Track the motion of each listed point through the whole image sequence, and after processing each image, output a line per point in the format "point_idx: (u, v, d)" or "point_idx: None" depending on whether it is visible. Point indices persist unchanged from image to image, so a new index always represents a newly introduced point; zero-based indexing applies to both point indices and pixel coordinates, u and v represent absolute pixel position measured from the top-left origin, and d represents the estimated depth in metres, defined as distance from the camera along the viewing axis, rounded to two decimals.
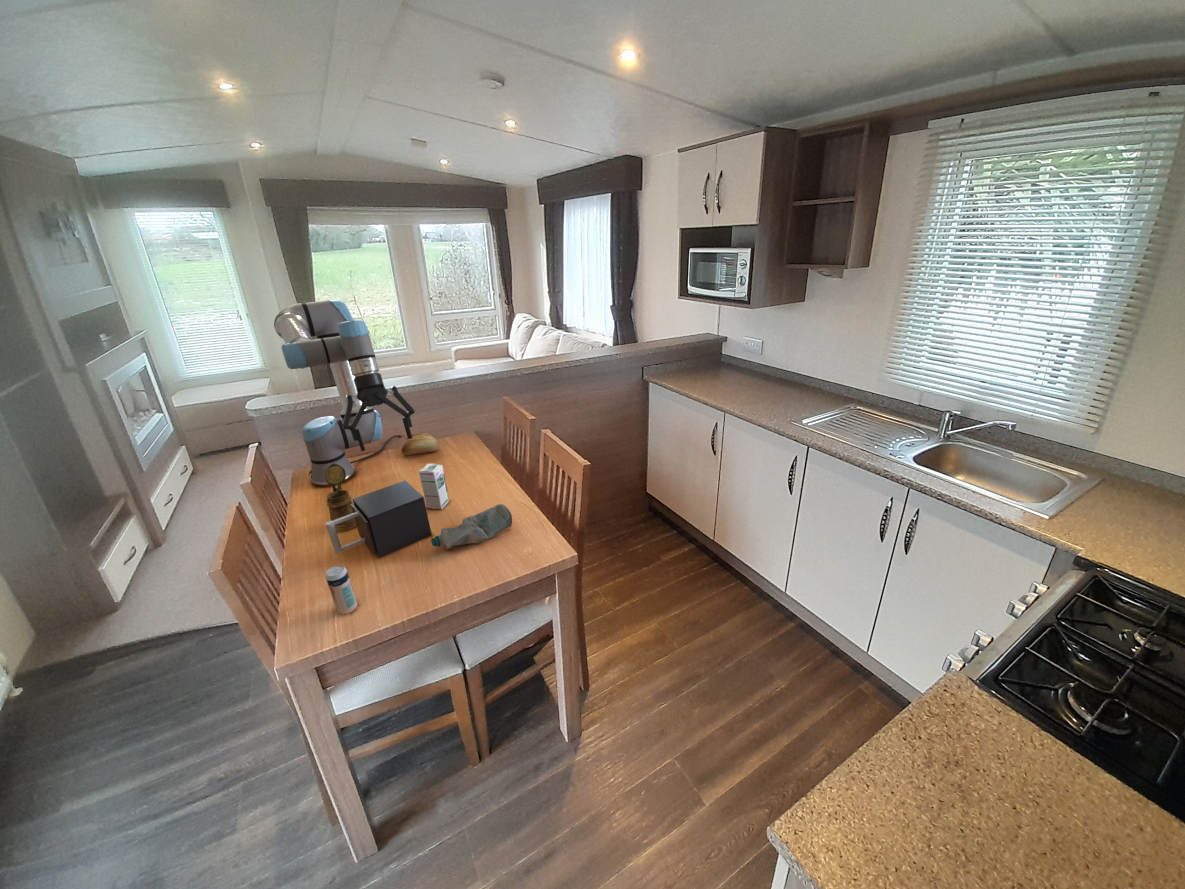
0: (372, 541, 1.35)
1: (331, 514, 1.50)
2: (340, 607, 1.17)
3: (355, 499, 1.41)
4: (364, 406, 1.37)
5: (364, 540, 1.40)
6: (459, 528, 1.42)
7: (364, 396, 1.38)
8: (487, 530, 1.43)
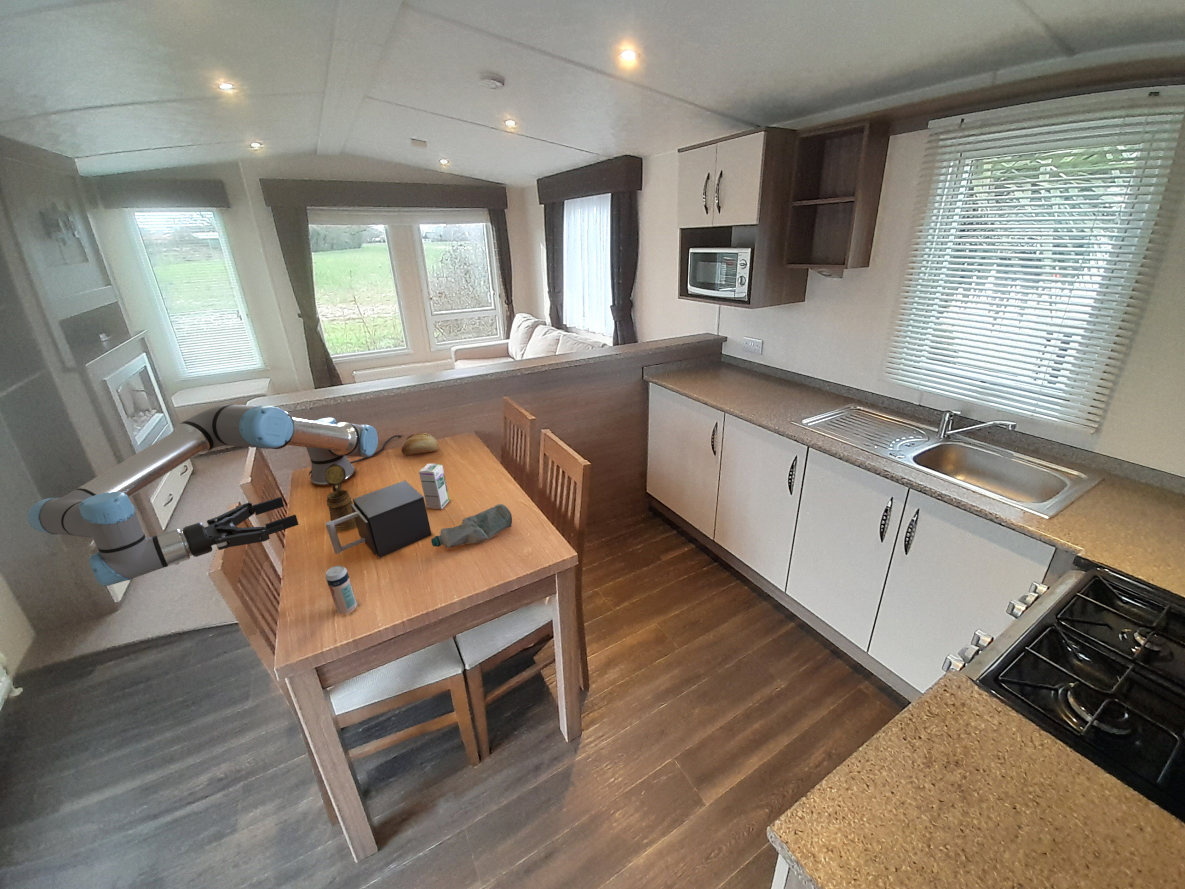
0: (372, 541, 1.35)
1: (331, 514, 1.50)
2: (340, 607, 1.17)
3: (355, 499, 1.41)
4: None
5: (364, 540, 1.40)
6: (459, 528, 1.42)
7: None
8: (487, 530, 1.43)
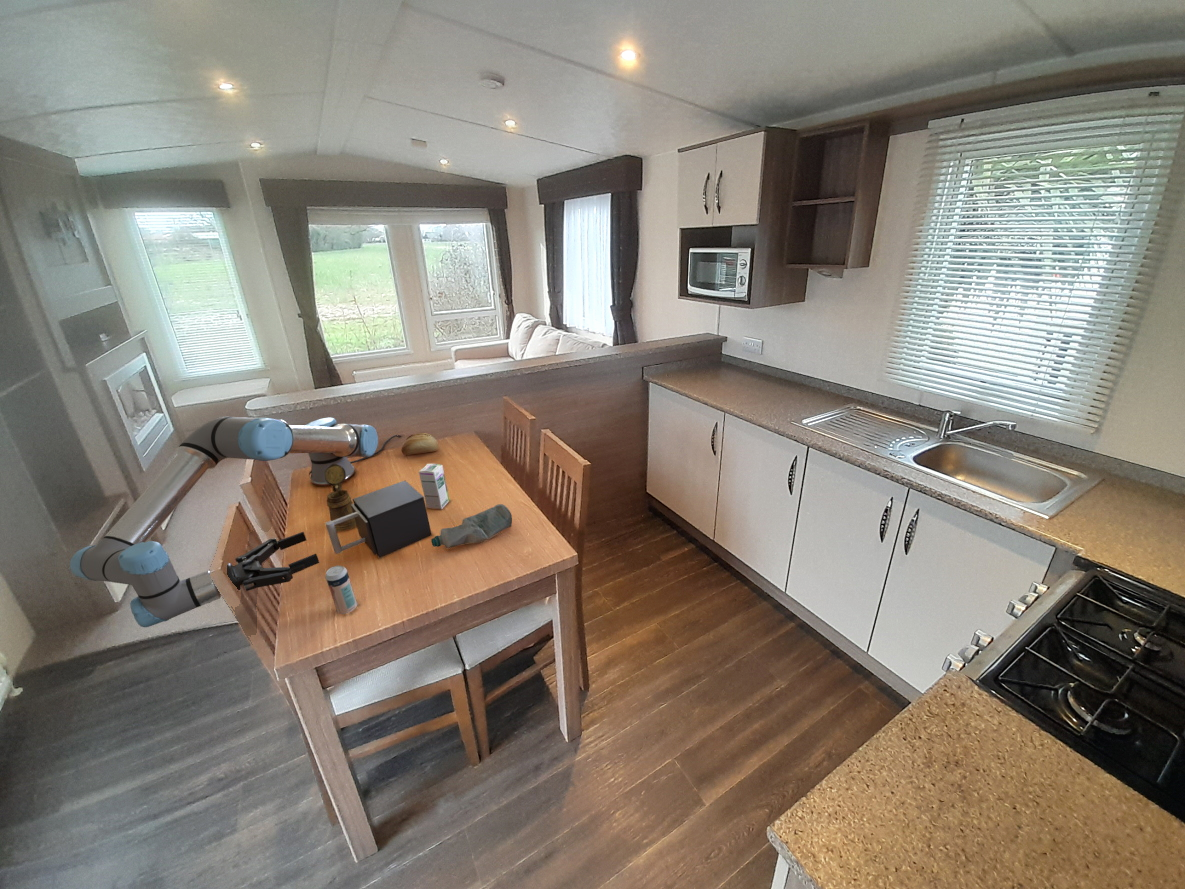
0: (372, 541, 1.35)
1: (331, 514, 1.50)
2: (340, 607, 1.17)
3: (355, 499, 1.41)
4: None
5: (364, 540, 1.40)
6: (459, 528, 1.42)
7: None
8: (487, 530, 1.43)
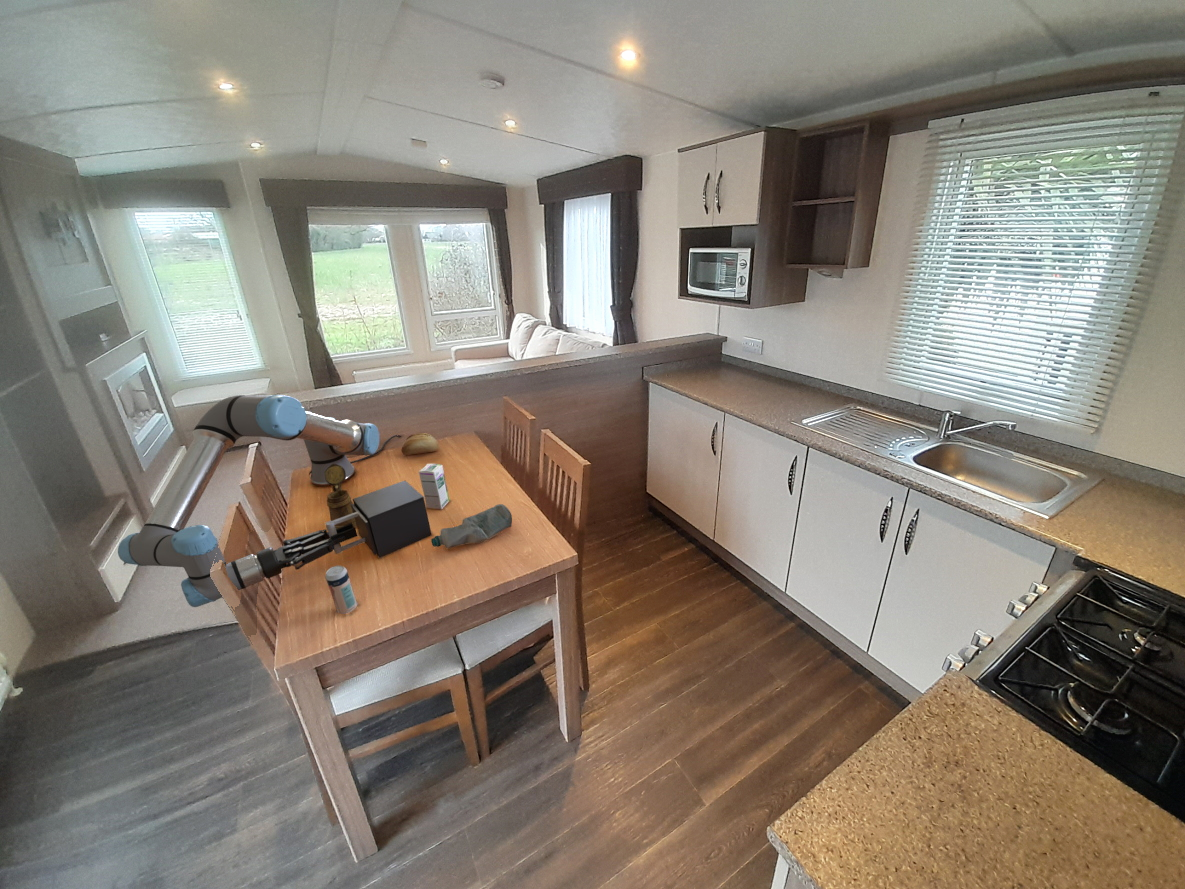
0: (372, 541, 1.35)
1: (331, 514, 1.50)
2: (340, 607, 1.17)
3: (355, 499, 1.41)
4: None
5: (364, 540, 1.40)
6: (459, 528, 1.42)
7: None
8: (487, 530, 1.43)
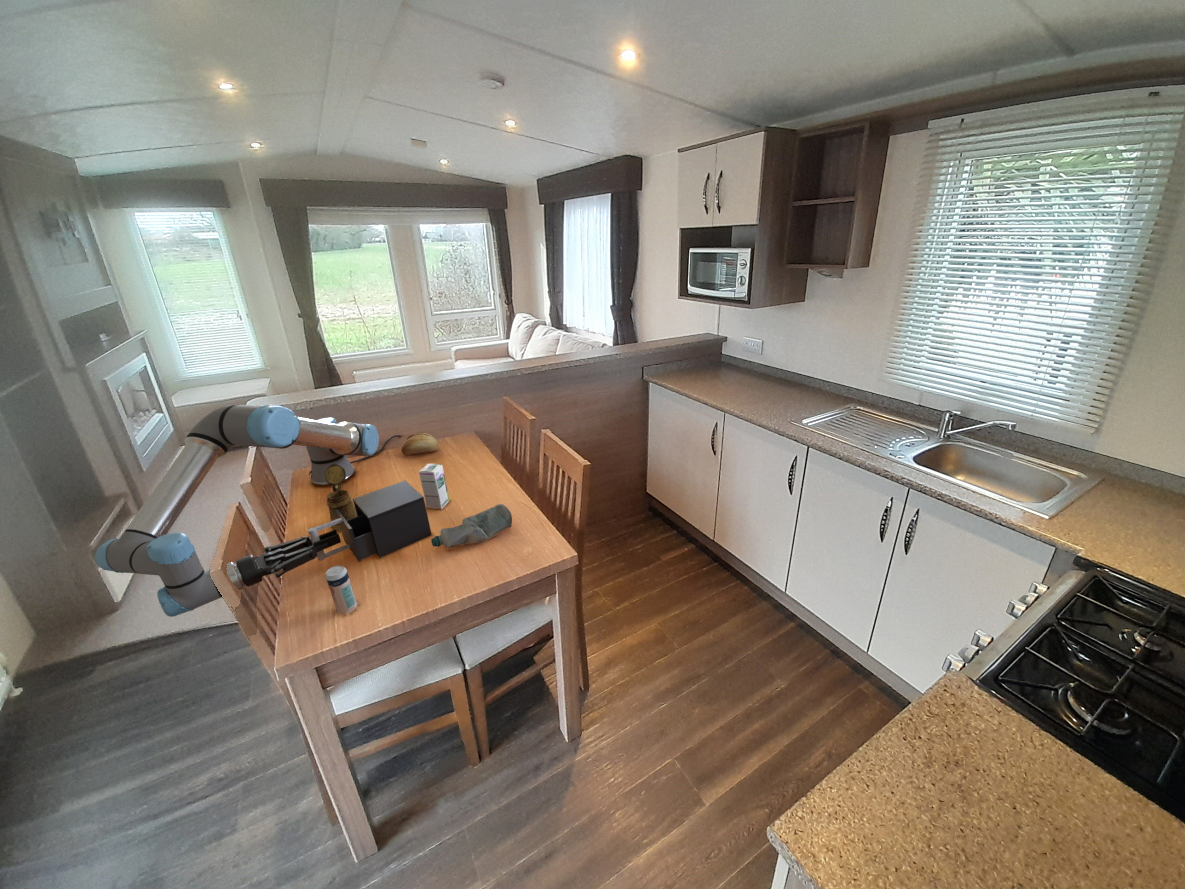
0: (356, 548, 1.33)
1: (331, 514, 1.50)
2: (340, 607, 1.17)
3: (355, 499, 1.41)
4: None
5: (348, 546, 1.37)
6: (459, 528, 1.42)
7: None
8: (487, 530, 1.43)
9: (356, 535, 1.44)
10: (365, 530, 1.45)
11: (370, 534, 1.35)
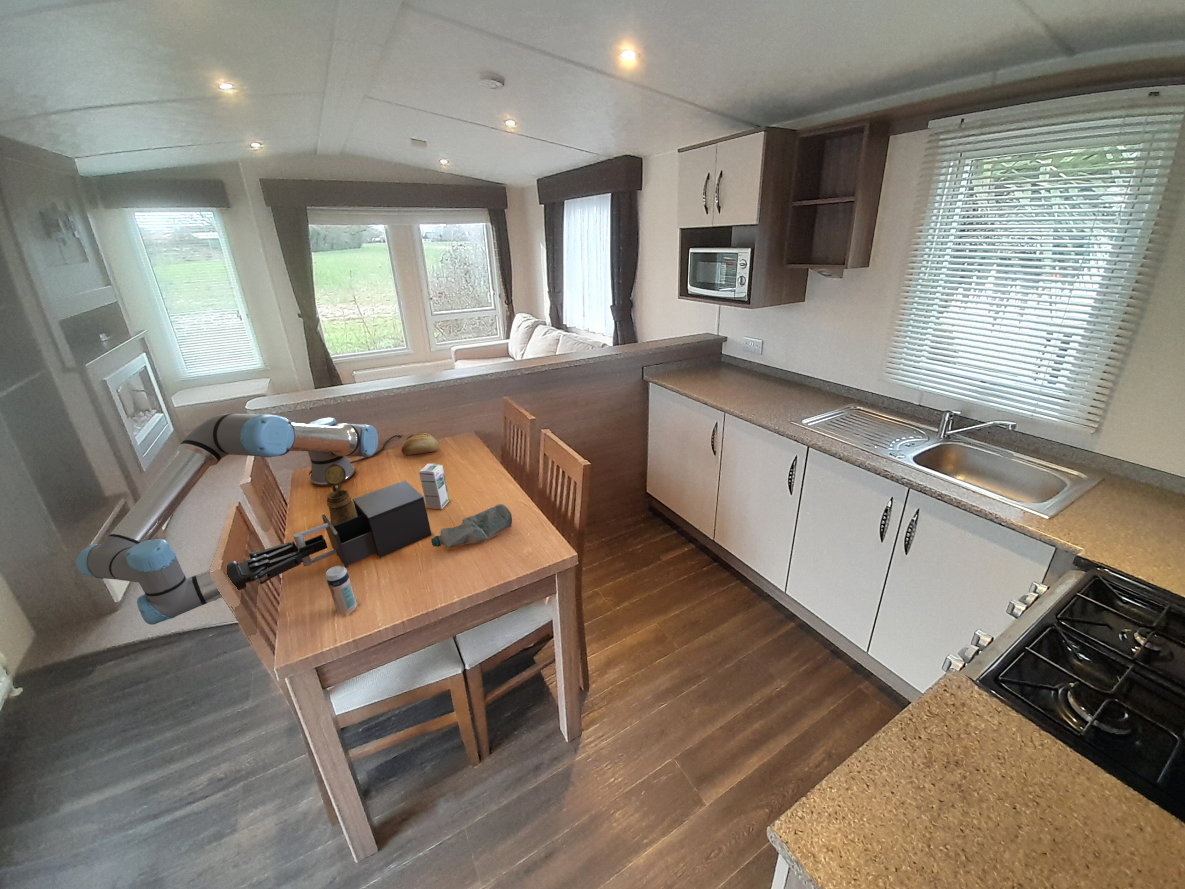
0: (342, 553, 1.30)
1: (331, 514, 1.50)
2: (340, 607, 1.17)
3: (355, 499, 1.41)
4: None
5: (335, 552, 1.35)
6: (459, 528, 1.42)
7: None
8: (487, 530, 1.43)
9: (344, 540, 1.42)
10: (353, 535, 1.43)
11: (357, 539, 1.33)
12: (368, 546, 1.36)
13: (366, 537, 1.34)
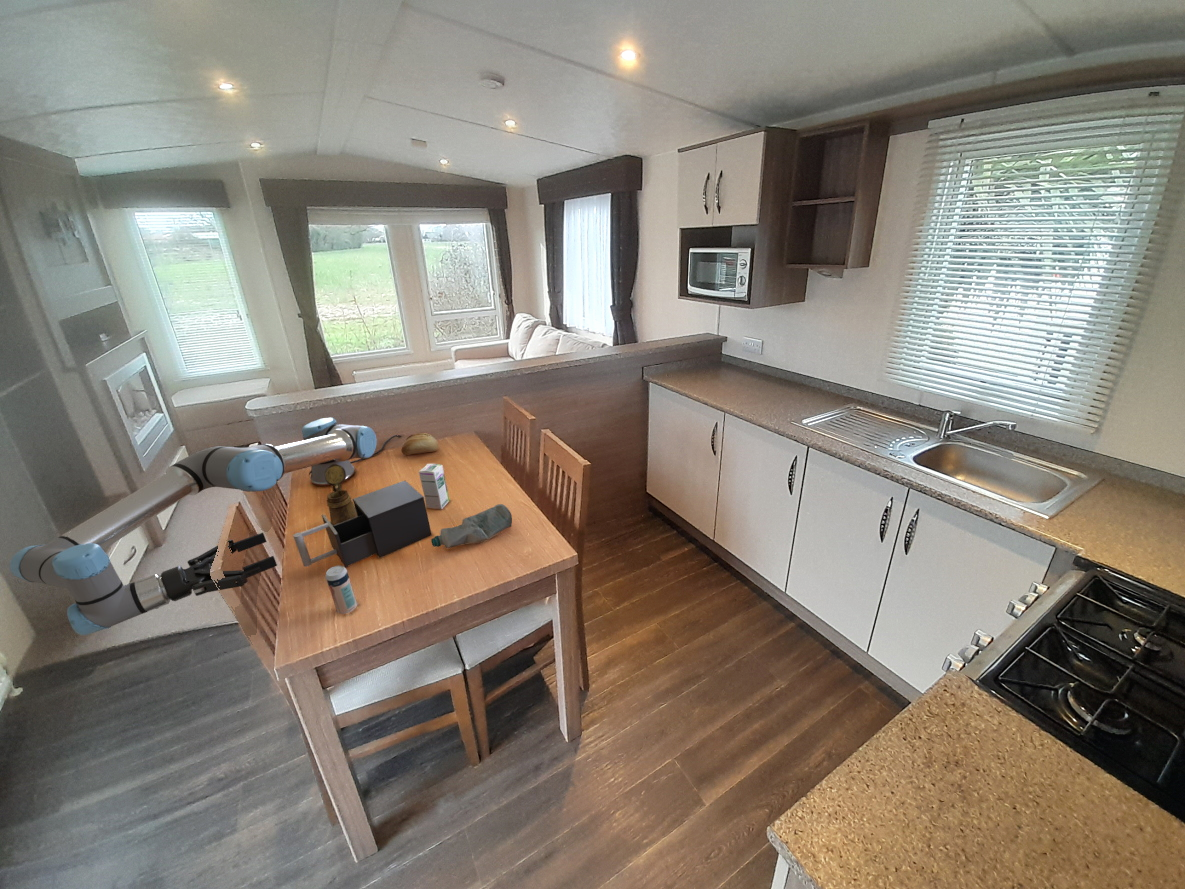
0: (342, 553, 1.30)
1: (331, 514, 1.50)
2: (340, 607, 1.17)
3: (355, 499, 1.41)
4: None
5: (335, 552, 1.35)
6: (459, 528, 1.42)
7: None
8: (487, 530, 1.43)
9: (344, 540, 1.42)
10: (353, 535, 1.43)
11: (357, 539, 1.33)
12: (368, 546, 1.36)
13: (366, 537, 1.34)
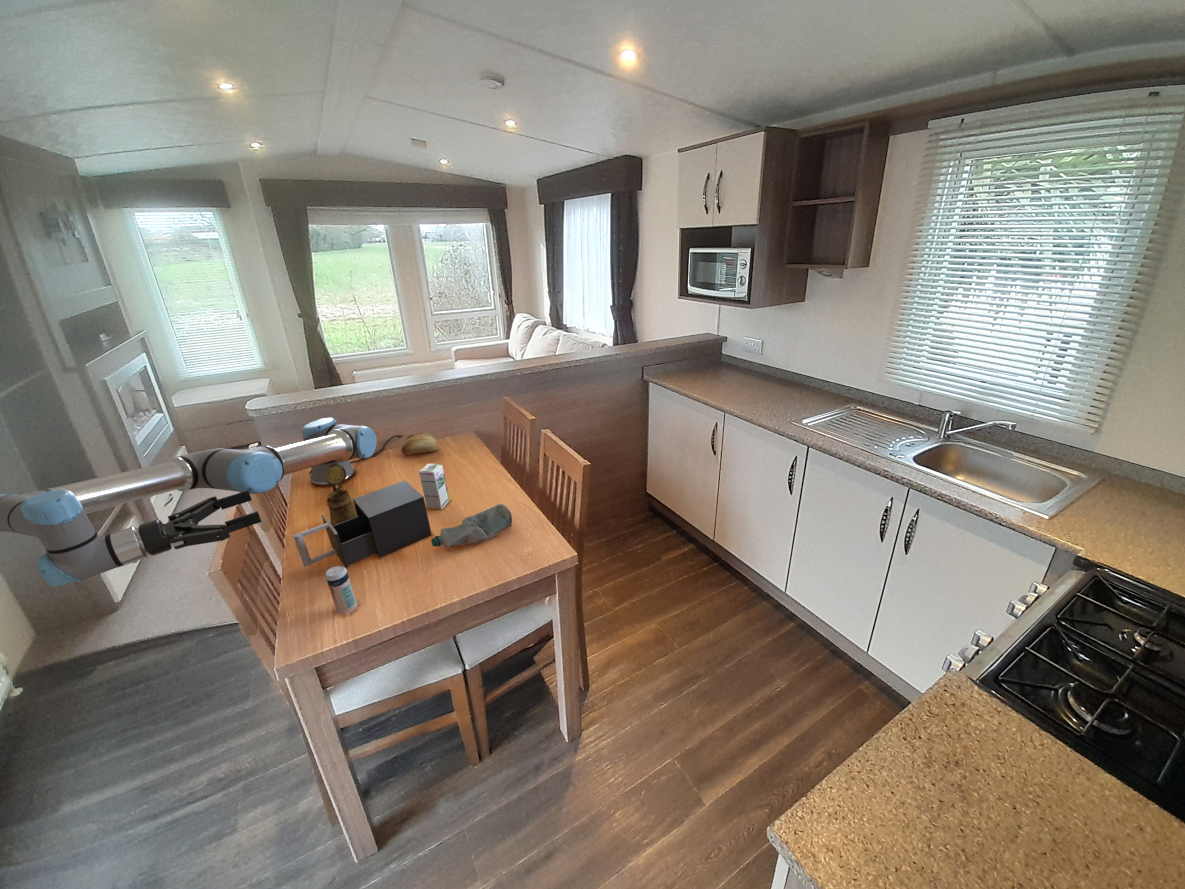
0: (342, 553, 1.30)
1: (331, 514, 1.50)
2: (340, 607, 1.17)
3: (355, 499, 1.41)
4: None
5: (335, 552, 1.35)
6: (459, 528, 1.42)
7: None
8: (487, 530, 1.43)
9: (344, 540, 1.42)
10: (353, 535, 1.43)
11: (357, 539, 1.33)
12: (368, 546, 1.36)
13: (366, 537, 1.34)
